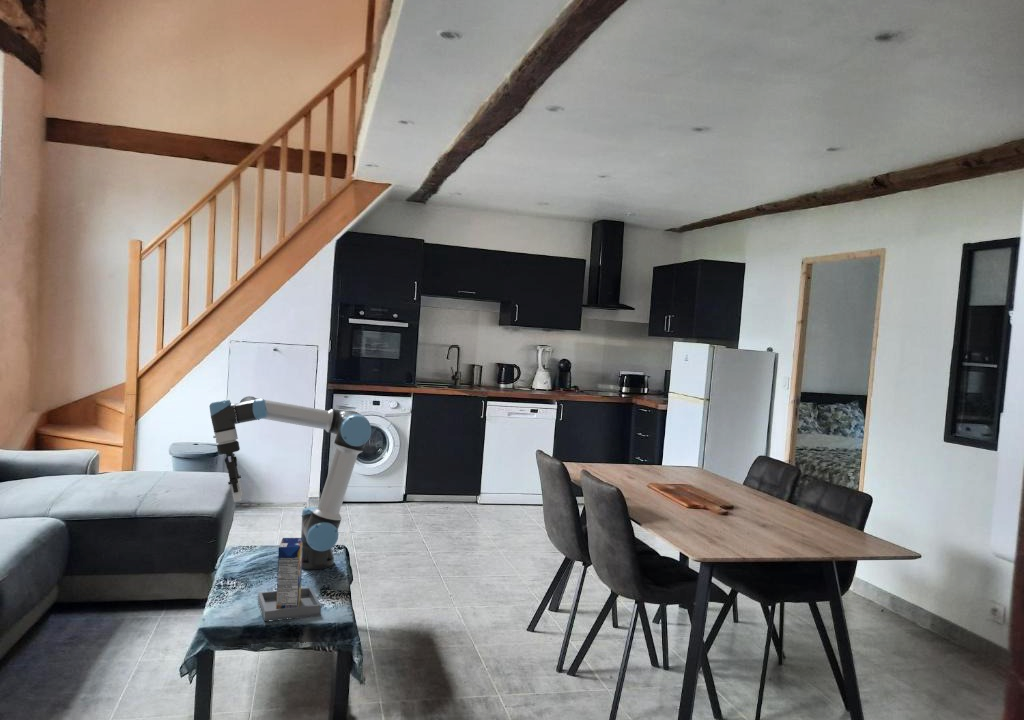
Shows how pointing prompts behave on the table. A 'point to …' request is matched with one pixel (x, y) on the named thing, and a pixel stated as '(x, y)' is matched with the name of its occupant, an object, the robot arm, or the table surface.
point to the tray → (306, 608)
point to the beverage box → (289, 573)
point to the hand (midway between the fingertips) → (238, 498)
